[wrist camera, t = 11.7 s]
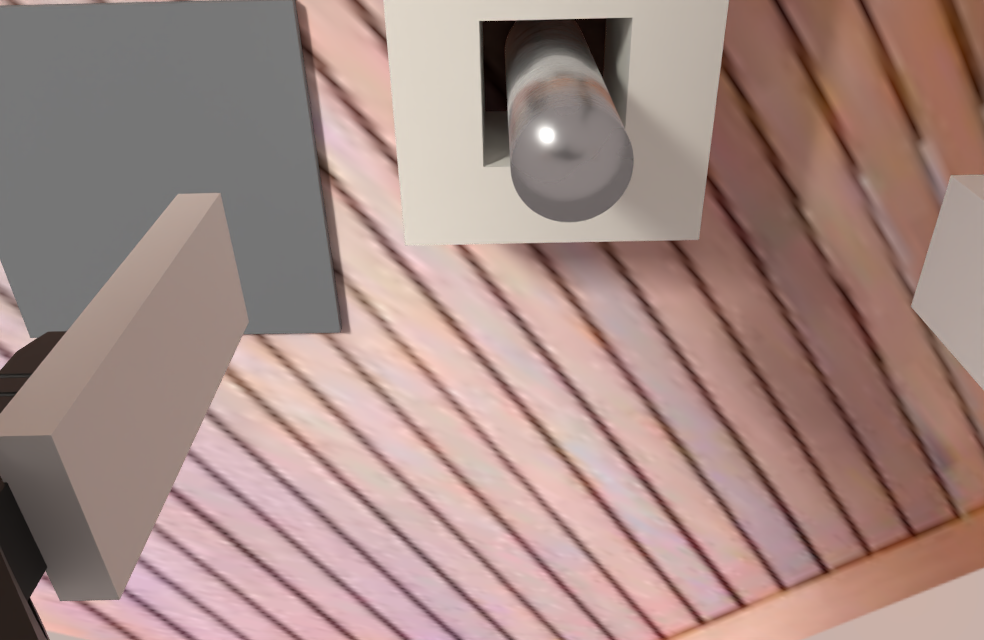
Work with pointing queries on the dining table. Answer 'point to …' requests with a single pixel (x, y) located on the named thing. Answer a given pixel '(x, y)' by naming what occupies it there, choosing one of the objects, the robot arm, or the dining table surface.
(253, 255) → the mat
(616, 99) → the block
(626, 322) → the dining table surface
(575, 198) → the peg
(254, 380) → the dining table surface
